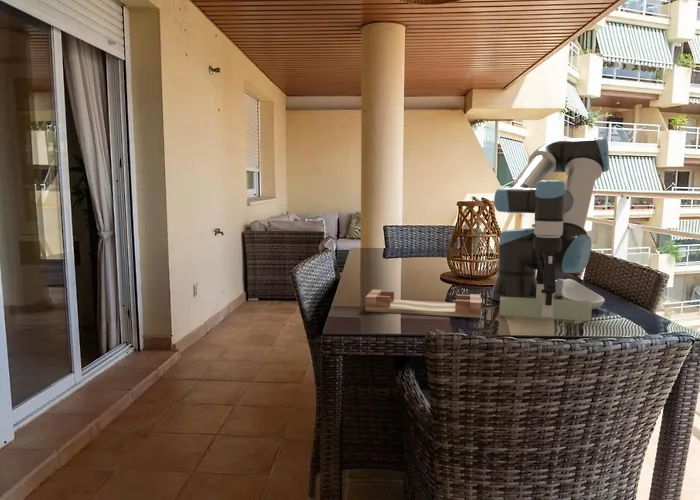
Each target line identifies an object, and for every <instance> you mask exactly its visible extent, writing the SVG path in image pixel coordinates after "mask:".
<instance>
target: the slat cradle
mask: <svg viewBox="0 0 700 500" xmlns="http://www.w3.org/2000/svg"><path fill="white" fill-rule="evenodd" d="M364 298H365V301H364V302H365V303H364V305H365V307H364V308H365V310H364V311H365V312H378V313H391V314H392V313H394V314H407V315H410V314H411V315H412V314H413V315H423V316H424V315H429V316H443V317H445V316H446V317H448V316H449V317H457V318H459V317H462V318H479V319H481V317H482V316H481V315H482V297H481V294H480V293H479V294H478V293H477V294H476V293H469V294H458V293H457V294H456V297H455V298H456V299H455V302H444V301H429V300H428V301H425V300H410V299H409V300H407V299H405V300H404V299H395V291H393V290H383V289H380V288H379V289H377V288H373V289H372V290H371V291H370V292H368V294H367V295H366V296H365V297H364Z"/></svg>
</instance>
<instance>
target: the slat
mask: <svg viewBox="0 0 700 500" xmlns="http://www.w3.org/2000/svg"><path fill="white" fill-rule="evenodd" d="M542 302H543V299H539V298H520V297H500V302H499V316H500V315H501V317H520V318H535V319H551V320H566V321H570V320H571V321H582V322H591V321H592V304H591V303H590V302H589V301H577V300H564V299H555V298H554V303H553V317H542Z"/></svg>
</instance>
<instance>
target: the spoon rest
mask: <svg viewBox="0 0 700 500" xmlns="http://www.w3.org/2000/svg"><path fill="white" fill-rule="evenodd" d="M555 286H556V292H554V297H562V300H577V301H589V302H590V303H591V304H592V310H596V309H599V308H600V307H601V306H602V305H603V304H604V303H605V302H606V300H605V298H604V296H602V295H600V294H598V293H596V292H595V291H593V290H591V289H589V288H588V287H587V286H584V285H582V284H581V283H579V282H578V281H576V280H574V279H571V278H566V279H563V278H559V279H556V280H555Z"/></svg>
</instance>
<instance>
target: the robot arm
mask: <svg viewBox="0 0 700 500" xmlns="http://www.w3.org/2000/svg"><path fill="white" fill-rule="evenodd" d="M609 169H610V154H609V142H608V140H607V138H605V137H600V136H599V137H598V136H593V137H581V138H580V137H578V138H559V139H555V140H554V139H553V140H551V141H549V142H547V143H545V144H543V145H542V146H540V147H538V148H537V149H536V150H535V151H533V152H532V154H531V155H529V158H528V161H527V164H526V166H525V167H524V169H523V170H522V171H521V172H520V173H519V174H518V176H516V179H515V180H514V181H513V183H511V185H510V186H509V187H499V188H498V189H497V190H496V191H495V193H494V198H493V203H494V208H495V209H496V211H497V212H499V213H507V214H509V213H511V214H512V213H513V214H518V213H519V214H534V218H533V219H534V223H532V224H531V227H528V228H526V227H525V228H516V229H507V230H503V231H502V232H501V233H500V235H499V243H498V263H497V269H498V270H497V277H496V278H495V279H496V280H495V281H494V285H493V287H492V290H491V299H492V300H493V301H496V302H498V303H500V297H520V298H539V299H543V302H542V317H553V303H554V299H555V296H554V292H556V286H555V281H556V272H560V273H564V274H565V273H566V274H568V273H569V274H570V273H572V274H573V273H574V274H575V273H577V274H578V273H580V272H583V271H584V270H585V268H587V265H588V263H589V260H590V257H591V251H592V239H591V236H589V235H588V232H587V230H586V229H585V226H586V221H587V217H588V213H589V207H590V205H591V200H592V196H593V191H594V188H595V182H596V181H597V180H598V179H600V177H602V173H606V172H608V171H609ZM553 173H565V175H566V176H567V178H566V181H563V180H545V179H546V178H547V177H549V176H550V175H551V174H553Z"/></svg>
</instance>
